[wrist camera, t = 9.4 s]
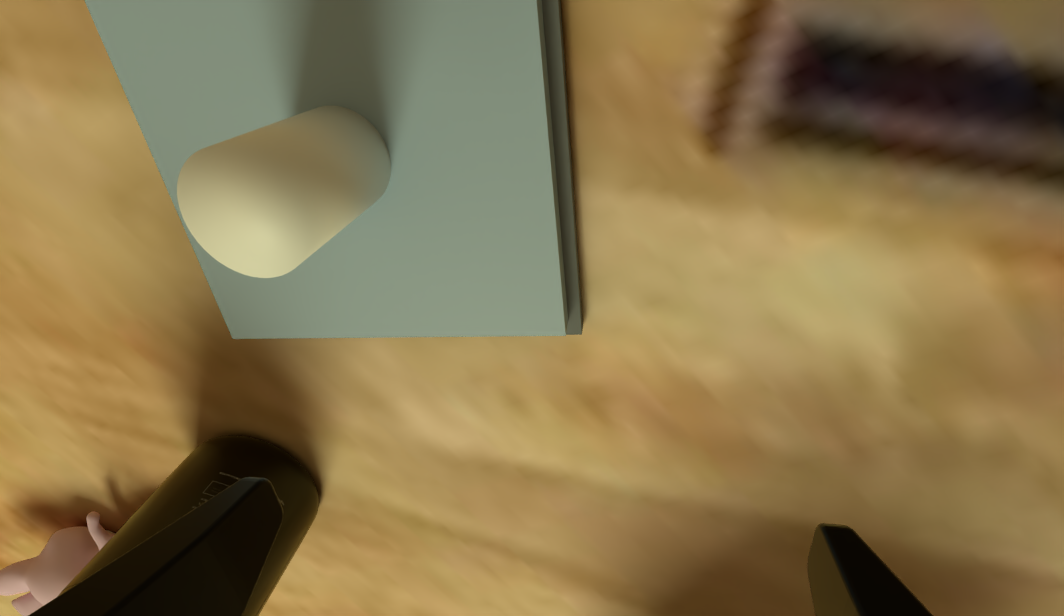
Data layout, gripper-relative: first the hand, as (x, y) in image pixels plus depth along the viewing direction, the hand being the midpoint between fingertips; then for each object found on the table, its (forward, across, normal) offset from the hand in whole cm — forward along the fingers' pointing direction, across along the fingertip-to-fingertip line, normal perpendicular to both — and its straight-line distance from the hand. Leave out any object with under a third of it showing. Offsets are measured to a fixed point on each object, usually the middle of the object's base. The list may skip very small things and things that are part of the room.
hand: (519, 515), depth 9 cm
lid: (+11, +7, -4) cm, 13 cm away
